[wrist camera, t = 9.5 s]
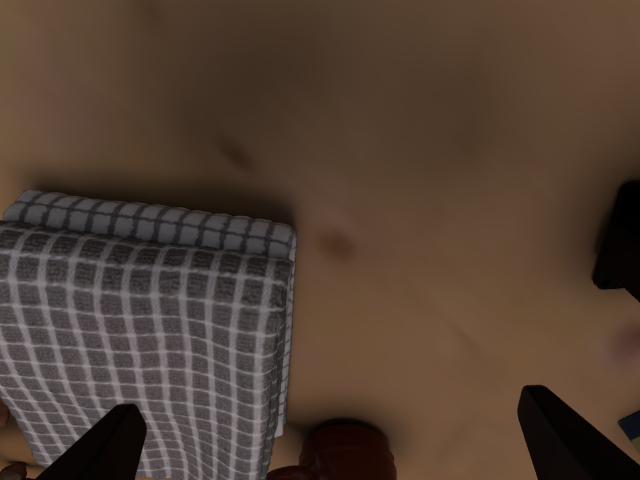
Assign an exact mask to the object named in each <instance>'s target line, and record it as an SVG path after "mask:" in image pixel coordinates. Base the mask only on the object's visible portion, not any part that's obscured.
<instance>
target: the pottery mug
mask: <svg viewBox="0 0 640 480" xmlns="http://www.w3.org/2000/svg"><path fill="white" fill-rule="evenodd" d="M8 407H9V406H7V405H6V404H5V403H4V402H3V401H2V399H1V398H0V427H4V426H5V425H6V424H7V422H8V418H9V411H10V410H9V409H8ZM26 475H27V471H26V467H25V463H23V462H19V463H17V464H12V465H9V466H7V467H5V468H4V469H2V470H1V472H0V480H34V479H30V478H26Z"/></svg>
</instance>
